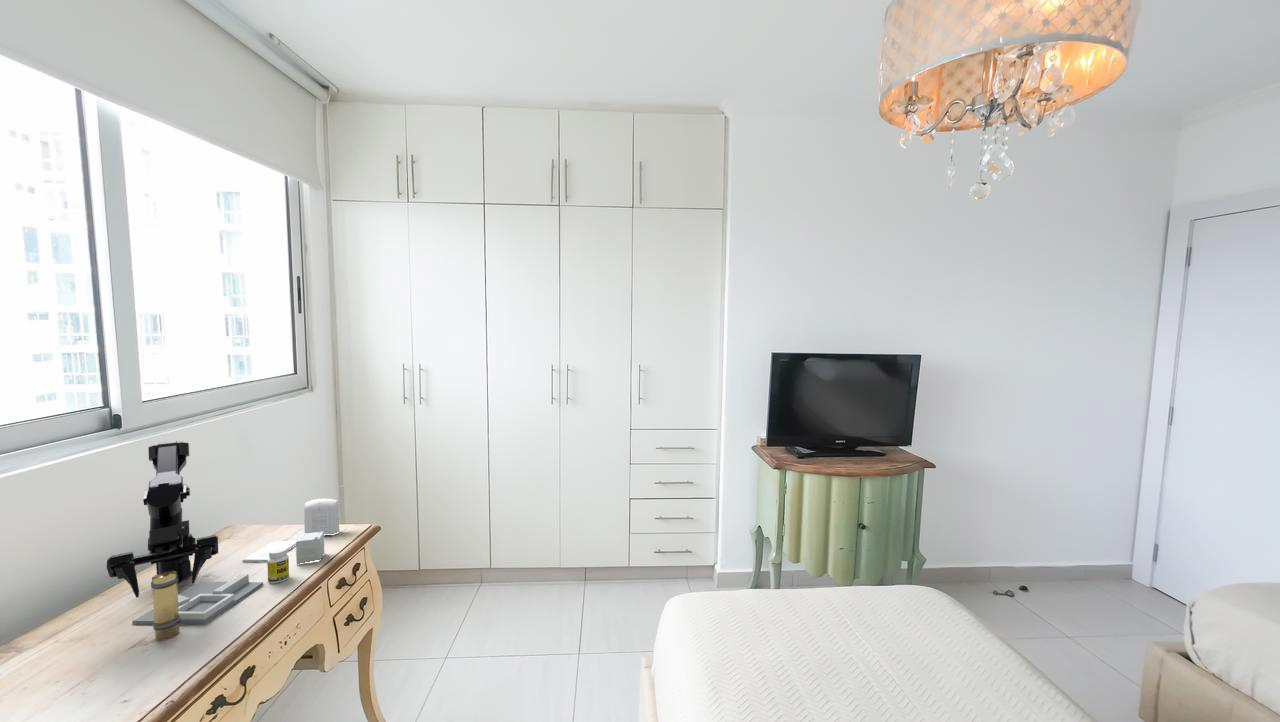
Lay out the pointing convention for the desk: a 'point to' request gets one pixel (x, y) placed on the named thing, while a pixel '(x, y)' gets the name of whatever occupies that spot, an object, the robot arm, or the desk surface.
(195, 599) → the coupling station
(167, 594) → the disc
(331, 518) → the photo printer
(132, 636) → the desk surface
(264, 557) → the external hard drive
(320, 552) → the skincare box
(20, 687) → the desk surface
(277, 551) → the supplement bottle
